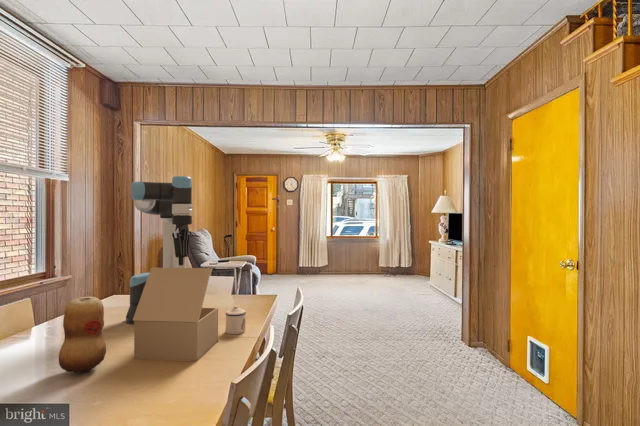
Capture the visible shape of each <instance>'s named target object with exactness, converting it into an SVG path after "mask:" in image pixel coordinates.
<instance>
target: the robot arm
mask: <svg viewBox="0 0 640 426" xmlns="http://www.w3.org/2000/svg"><path fill="white" fill-rule="evenodd" d="M171 179H172V180H171V182H156V181H155V182H154V181H153V182H151V181H142V180H141V181H133V182H131V199H132V200H133V205H134V207H135V208H136V209H137V210H139V211H140V212H141V213H144V214H146V215H150V216H151V215H153V216H154V215H155V216H156V215H157V216H159V219H160V220H161V221H162V268H187V258H188V257H189V256H190V255H189V253H190V243H191V236H192V231H189V230H190V229H189V225H192V224H193V216H192V215H191V214H192V213H193V211H192V209H194V208H193V203H192V201H193V197H192V196H193V195H192V193H193V182H192V181H193V180H192V177H190V176H188V175H187V176H186V175H175V176H173V177H172V178H171ZM149 273H150V271H149V272H142V273H138V274H135V275H132V276H130V279H129V307H128V309H127V313H126V315H125V323H126V324H129V325H130V324H131V325H134V321H133V318H134V315H135V312H136V309H137V306H138V304H139V301H140V298H141V295H142V292H143V290H144V287H145V284H146V281H147V278H148V276H149Z"/></svg>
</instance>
